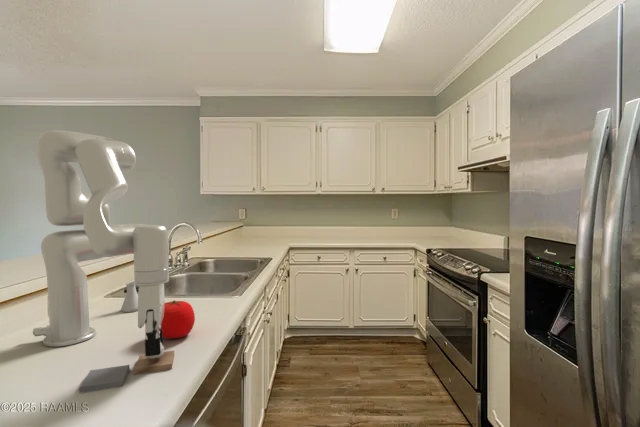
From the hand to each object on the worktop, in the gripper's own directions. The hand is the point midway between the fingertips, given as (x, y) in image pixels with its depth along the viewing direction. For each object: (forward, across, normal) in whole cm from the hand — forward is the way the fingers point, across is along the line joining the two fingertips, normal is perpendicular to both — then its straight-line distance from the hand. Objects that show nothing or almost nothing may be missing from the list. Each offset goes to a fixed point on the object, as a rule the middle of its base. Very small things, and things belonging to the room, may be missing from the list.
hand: (154, 350), depth 87 cm
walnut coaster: (+4, 0, 0) cm, 4 cm away
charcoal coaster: (+4, +5, -9) cm, 11 cm away
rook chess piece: (+2, 0, 0) cm, 2 cm away
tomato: (+4, -18, +3) cm, 18 cm away
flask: (+4, -52, -14) cm, 54 cm away
